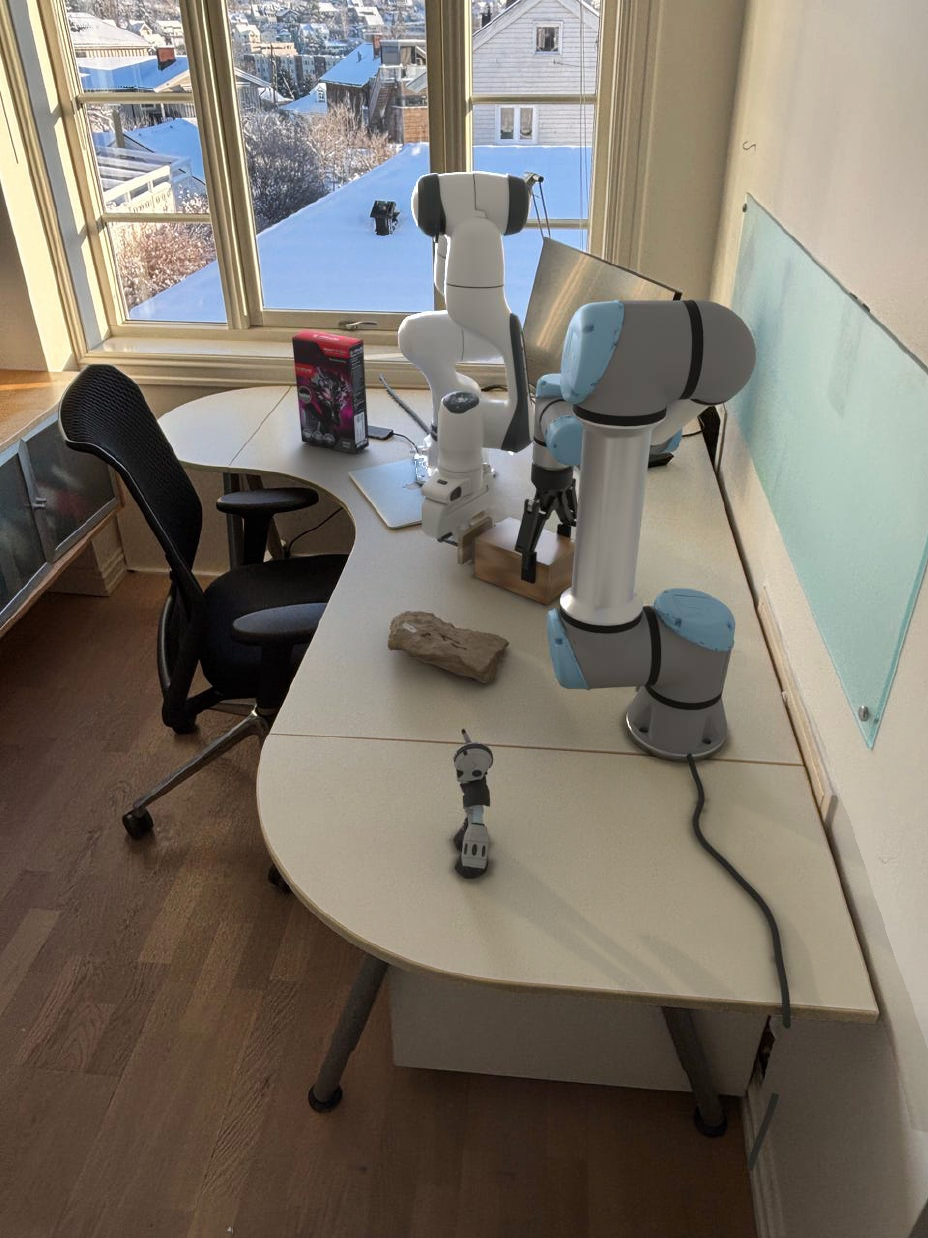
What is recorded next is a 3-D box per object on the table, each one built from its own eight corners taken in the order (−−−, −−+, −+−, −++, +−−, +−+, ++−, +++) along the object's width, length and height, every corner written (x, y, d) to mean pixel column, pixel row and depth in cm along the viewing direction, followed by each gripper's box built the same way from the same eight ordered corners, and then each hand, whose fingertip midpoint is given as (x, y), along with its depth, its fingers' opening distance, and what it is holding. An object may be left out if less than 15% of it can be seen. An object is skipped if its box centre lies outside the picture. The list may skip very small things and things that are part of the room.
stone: (364, 657, 153) (371, 625, 150) (394, 627, 166) (401, 597, 164) (483, 699, 149) (492, 667, 147) (504, 665, 163) (513, 635, 160)
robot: (495, 914, 114) (500, 797, 103) (456, 915, 114) (456, 798, 103) (484, 799, 130) (487, 688, 119) (450, 801, 130) (450, 689, 119)
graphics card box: (299, 442, 234) (289, 335, 219) (315, 433, 239) (306, 328, 224) (356, 456, 228) (349, 346, 213) (371, 446, 233) (365, 338, 218)
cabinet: (474, 576, 181) (475, 538, 176) (507, 554, 188) (508, 516, 184) (546, 605, 173) (549, 565, 168) (577, 580, 180) (581, 541, 175)
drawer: (434, 554, 186) (434, 525, 182) (465, 535, 193) (465, 507, 189) (521, 588, 175) (523, 558, 172) (550, 567, 182) (552, 538, 178)
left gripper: (477, 455, 188) (476, 516, 196) (415, 490, 174) (416, 554, 182) (503, 463, 185) (501, 524, 193) (442, 499, 171) (442, 564, 179)
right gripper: (569, 436, 174) (561, 538, 186) (497, 479, 158) (493, 587, 170) (604, 446, 170) (593, 549, 182) (533, 491, 154) (527, 600, 166)
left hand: (459, 539), depth 187 cm, fingers closed, pressing on drawer
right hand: (545, 568), depth 176 cm, fingers closed on cabinet, 11 cm apart
